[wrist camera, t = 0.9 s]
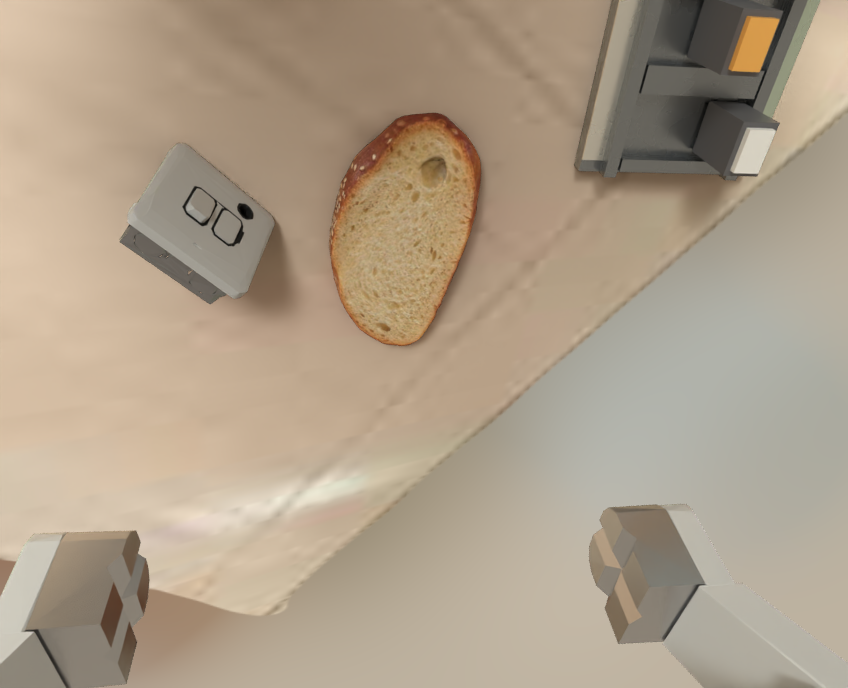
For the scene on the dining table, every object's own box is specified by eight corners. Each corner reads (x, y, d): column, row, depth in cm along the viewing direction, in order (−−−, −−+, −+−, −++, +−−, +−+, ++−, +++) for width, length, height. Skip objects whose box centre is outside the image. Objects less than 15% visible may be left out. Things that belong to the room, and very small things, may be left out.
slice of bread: (388, 351, 61) (391, 375, 58) (258, 222, 51) (254, 243, 48) (544, 251, 56) (556, 272, 53) (435, 87, 46) (442, 101, 43)
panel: (653, -182, 38) (670, -184, 36) (869, -157, 40) (896, -158, 38) (574, 165, 51) (583, 176, 49) (739, 169, 53) (754, 180, 51)
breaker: (709, 100, 48) (747, 124, 43) (742, 102, 48) (783, 125, 44) (692, 151, 50) (726, 178, 46) (723, 152, 50) (760, 179, 46)
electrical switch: (278, 218, 51) (261, 284, 44) (238, 253, 53) (216, 322, 46) (180, 136, 46) (144, 195, 39) (141, 179, 48) (100, 243, 41)
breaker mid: (705, -5, 43) (747, 9, 39) (742, -2, 43) (788, 12, 39) (686, 57, 45) (724, 77, 41) (721, 58, 46) (762, 78, 41)
